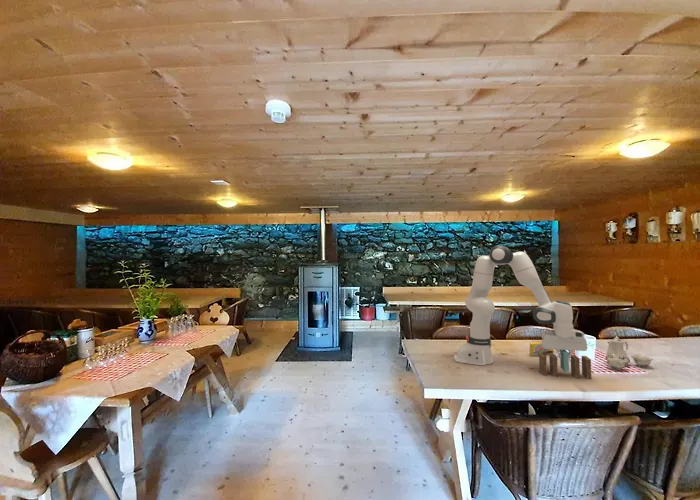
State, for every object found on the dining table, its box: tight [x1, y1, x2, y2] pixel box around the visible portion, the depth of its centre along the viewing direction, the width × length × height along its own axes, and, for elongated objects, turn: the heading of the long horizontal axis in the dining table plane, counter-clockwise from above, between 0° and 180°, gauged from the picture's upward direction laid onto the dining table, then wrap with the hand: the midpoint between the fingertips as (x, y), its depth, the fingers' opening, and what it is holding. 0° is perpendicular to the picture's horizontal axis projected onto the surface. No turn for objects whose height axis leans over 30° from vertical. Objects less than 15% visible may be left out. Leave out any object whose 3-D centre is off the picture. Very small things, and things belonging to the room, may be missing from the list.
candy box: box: [529, 341, 554, 358], centre depth 202 cm, size 16×2×8 cm, turn 101°
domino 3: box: [570, 354, 581, 379], centre depth 167 cm, size 2×6×10 cm, turn 163°
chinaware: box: [604, 335, 653, 371], centre depth 181 cm, size 28×17×17 cm, turn 106°
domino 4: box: [581, 355, 592, 380], centre depth 166 cm, size 2×6×10 cm, turn 163°
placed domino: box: [559, 350, 570, 373], centre depth 169 cm, size 2×6×10 cm, turn 164°
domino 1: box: [538, 353, 548, 376], centre depth 171 cm, size 2×6×10 cm, turn 163°
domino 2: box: [548, 353, 559, 377], centre depth 170 cm, size 2×6×10 cm, turn 163°
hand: (564, 357), depth 169 cm, fingers closed on placed domino, 2 cm apart
